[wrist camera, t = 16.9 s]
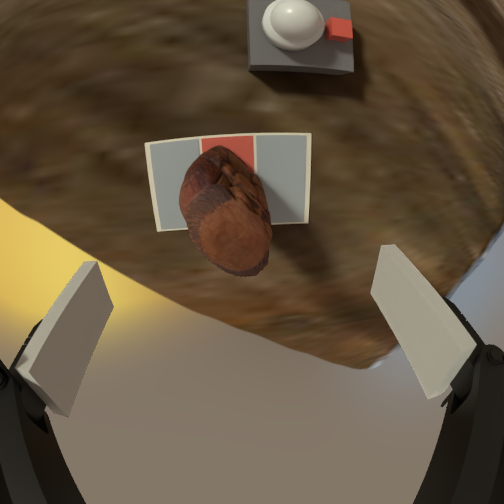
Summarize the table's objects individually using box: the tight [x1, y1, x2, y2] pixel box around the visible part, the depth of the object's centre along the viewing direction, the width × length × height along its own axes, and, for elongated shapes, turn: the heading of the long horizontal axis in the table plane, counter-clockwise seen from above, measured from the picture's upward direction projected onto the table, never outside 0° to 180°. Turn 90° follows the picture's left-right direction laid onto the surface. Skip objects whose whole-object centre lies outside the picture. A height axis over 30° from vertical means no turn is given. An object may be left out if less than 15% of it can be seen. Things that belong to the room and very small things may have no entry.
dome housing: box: [246, 0, 354, 76], centre depth 24 cm, size 12×10×7 cm
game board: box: [145, 133, 311, 231], centre depth 37 cm, size 22×13×1 cm, turn 92°
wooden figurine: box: [179, 145, 273, 277], centre depth 29 cm, size 12×6×18 cm, turn 40°
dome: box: [261, 0, 324, 51], centre depth 20 cm, size 6×6×5 cm
